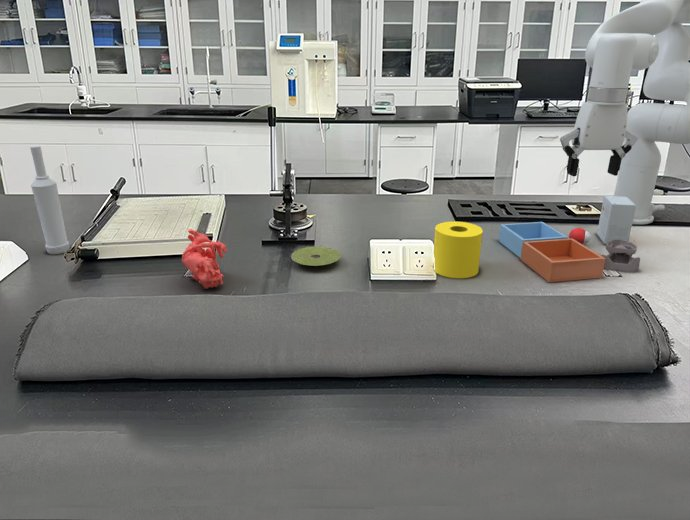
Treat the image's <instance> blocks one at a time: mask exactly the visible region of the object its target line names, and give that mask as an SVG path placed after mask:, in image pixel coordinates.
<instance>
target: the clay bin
mask: <svg viewBox="0 0 690 520" xmlns="http://www.w3.org/2000/svg"><path fill="white" fill-rule="evenodd" d="M601 255H602V254H599V253H598V252H596V251H595V250H592V249H591V248H589V247H588V246H586V245H584V244H581V243H579V242H577V241H576V240H574V239H572V238H570V239H569V238H568V239H557V240H542V241H528V242H523V245H522V252H521V258H520V261H521V262H522V263H524V264H525V265H527V266H528V267H529V268H530V269H531V270H533V271H534V272H535V273H536V274H538V275H539V276H540V277H541V278H543V279H544V280H546V281H547V282H548V283H556V282H557V283H558V282H567V281H578V280H580V281H581V280H591V279H601V278H603V273H604V269H605V268H604V264H605V260H606V258H604V257H602V256H601Z"/></svg>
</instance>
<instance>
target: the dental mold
mask: <svg viewBox="0 0 690 520" xmlns="http://www.w3.org/2000/svg"><path fill="white" fill-rule="evenodd" d="M605 250H606V251H607V253H608V254H600V255H601V256H602V257H604V258H606V260H605V264H604V269H605V270H611V271H617V272H624V273H637V272H638V271H639V267H640V264H641V263H640V262H641V257H640V256H637V257H633V255H635V254H636V252H637V250H638V246H637V245H636V244H634V243H633V242H631V241H629V242H628V241H624V240H615V239H614V240H611V241H609V242H607V244H605Z"/></svg>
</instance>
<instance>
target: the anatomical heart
mask: <svg viewBox="0 0 690 520" xmlns="http://www.w3.org/2000/svg"><path fill="white" fill-rule="evenodd" d="M187 232H188V235H187V238H188V240H189V241H191V243H189V244H188V246H186V248H185V250H184V251H183V252H182V255H181V262H182V264H183V265H184V266H185V268H186V269H187V270H188V271H189V272H190V273H191V274H192V275H191V276H190V277H191V278H192V279H193V280H194V281H196V282H198V283H199V285H201V286H202V287H203V288H204V289H209V288H217V287H218V286H219V285H221V286H222V285H224V280H223V278H224V274H223V273H221V270H220V265H219V263H218V261H217V254H218V256H219V258H220V259H223V258H224V257H225V256H224V254H226V253H227V252H228V249H227V248H228V247H227V246H226V244H224V243H223V242H222V241H219V239H218V240H216V241H213V240H211V239H210V238H209V237H208V236H207V234H206V233H204V234H203V233H199V232H198V230H194V229H192V228H189V229H187Z"/></svg>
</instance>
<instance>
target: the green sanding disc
mask: <svg viewBox="0 0 690 520" xmlns="http://www.w3.org/2000/svg"><path fill="white" fill-rule="evenodd" d="M290 258H291V260H292V261H293V262H295V263H297V264H300V265H303V266H311V267H312V266H315V267H317V266H325V265H331V264H332V263H336V262H337V261H339V260H340V259H341V253H340V252H339V251H338V250H336V249H334V248H331V247H325V246H307V247H302V248H299V249H297V250H294V251H293V252H292V253H291V255H290Z"/></svg>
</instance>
